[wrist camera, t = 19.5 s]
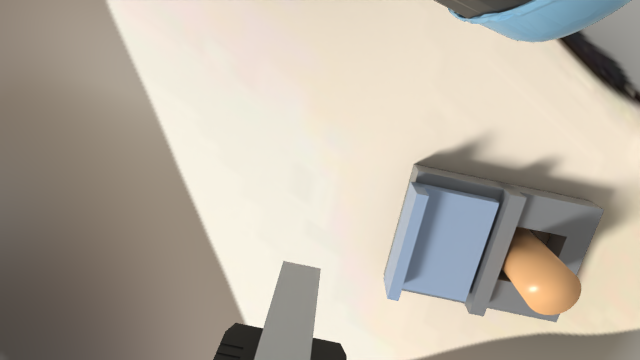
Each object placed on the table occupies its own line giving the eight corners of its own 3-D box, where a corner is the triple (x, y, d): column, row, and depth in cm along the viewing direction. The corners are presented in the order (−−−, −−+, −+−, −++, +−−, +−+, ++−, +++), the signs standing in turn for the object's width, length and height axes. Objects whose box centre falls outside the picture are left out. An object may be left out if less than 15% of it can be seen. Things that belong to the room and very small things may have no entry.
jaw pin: (545, 233, 41) (590, 275, 33) (527, 271, 42) (567, 320, 35) (501, 222, 41) (537, 261, 33) (485, 261, 42) (516, 307, 35)
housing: (413, 164, 40) (421, 176, 36) (588, 200, 40) (615, 216, 36) (383, 274, 43) (387, 296, 39) (544, 307, 43) (564, 333, 39)
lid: (410, 181, 38) (416, 193, 34) (494, 198, 38) (509, 212, 34) (383, 278, 40) (387, 298, 37) (461, 294, 40) (472, 316, 37)
